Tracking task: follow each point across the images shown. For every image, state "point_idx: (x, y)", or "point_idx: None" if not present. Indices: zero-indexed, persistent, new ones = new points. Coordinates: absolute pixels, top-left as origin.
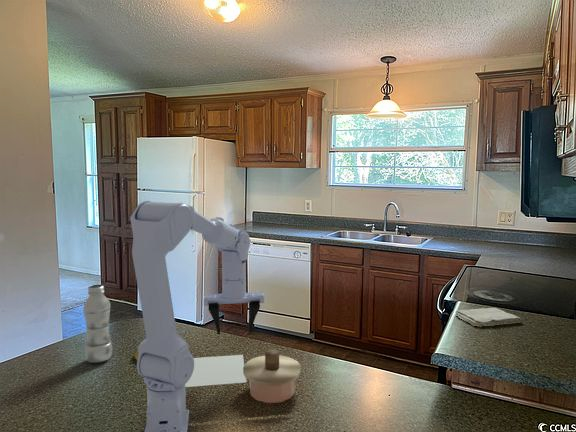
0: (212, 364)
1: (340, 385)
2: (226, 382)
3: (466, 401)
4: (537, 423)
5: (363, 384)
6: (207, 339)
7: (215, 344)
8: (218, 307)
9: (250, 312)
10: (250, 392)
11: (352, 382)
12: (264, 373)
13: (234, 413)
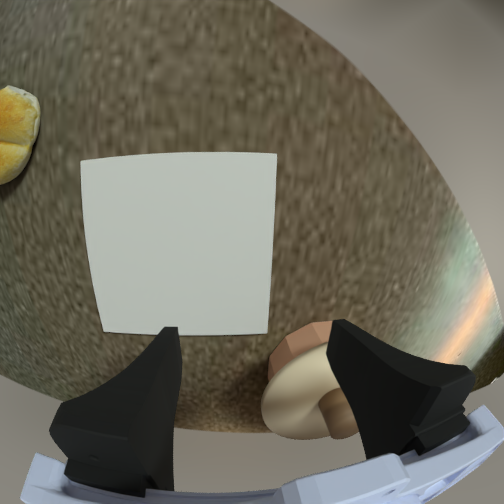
0: (165, 215)
1: (431, 335)
2: (213, 329)
3: (493, 356)
4: (494, 379)
5: (456, 330)
6: (159, 7)
7: (182, 42)
8: (162, 489)
9: (366, 449)
10: (269, 376)
11: (449, 325)
12: (309, 419)
13: (231, 410)
